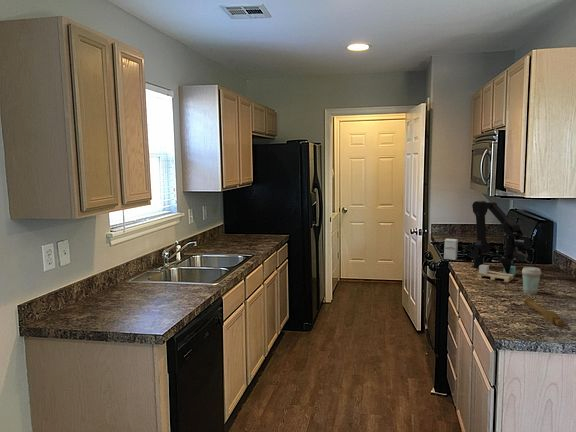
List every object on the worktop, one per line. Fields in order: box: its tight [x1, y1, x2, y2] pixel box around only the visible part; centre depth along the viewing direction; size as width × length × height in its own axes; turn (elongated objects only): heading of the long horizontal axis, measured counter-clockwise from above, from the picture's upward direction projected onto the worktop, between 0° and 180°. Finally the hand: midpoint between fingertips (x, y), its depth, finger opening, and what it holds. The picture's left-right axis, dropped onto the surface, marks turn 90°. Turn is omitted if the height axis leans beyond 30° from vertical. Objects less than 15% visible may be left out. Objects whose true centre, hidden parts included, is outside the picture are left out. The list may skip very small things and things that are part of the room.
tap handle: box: [524, 297, 565, 328], centre depth 200 cm, size 3×3×30 cm
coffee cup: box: [521, 266, 542, 295], centre depth 231 cm, size 8×8×12 cm
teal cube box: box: [502, 265, 517, 277], centre depth 265 cm, size 5×5×5 cm
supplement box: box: [443, 237, 459, 261], centre depth 308 cm, size 7×7×13 cm
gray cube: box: [478, 264, 490, 274], centre depth 261 cm, size 4×4×4 cm
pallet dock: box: [476, 270, 514, 283], centre depth 259 cm, size 9×16×2 cm, turn 49°
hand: (509, 273), depth 265 cm, fingers closed on teal cube box, 5 cm apart
